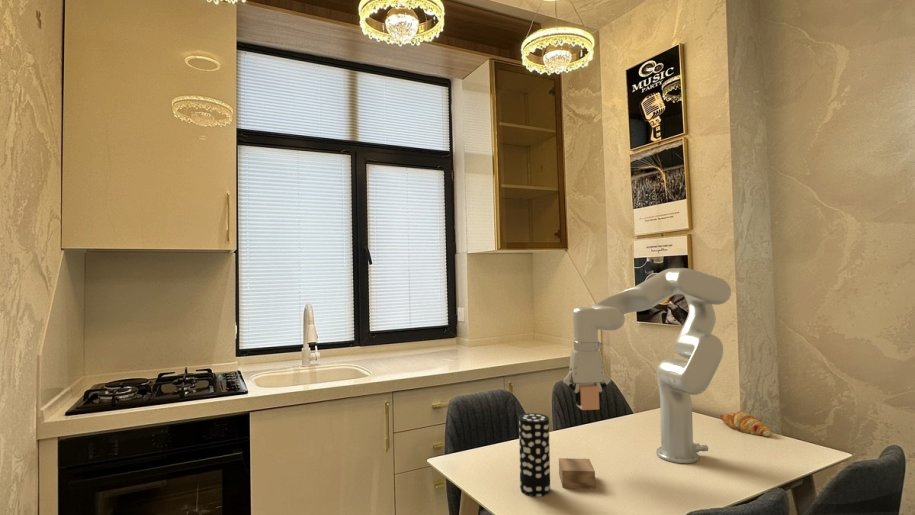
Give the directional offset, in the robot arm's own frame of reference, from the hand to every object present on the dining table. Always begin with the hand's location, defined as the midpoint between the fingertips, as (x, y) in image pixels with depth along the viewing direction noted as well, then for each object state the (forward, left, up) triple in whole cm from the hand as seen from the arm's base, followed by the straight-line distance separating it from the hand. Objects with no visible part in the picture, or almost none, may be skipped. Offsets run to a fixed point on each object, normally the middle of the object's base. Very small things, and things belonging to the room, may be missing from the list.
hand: (587, 403), depth 152 cm
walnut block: (+7, +11, -19) cm, 23 cm away
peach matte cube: (0, 0, -1) cm, 1 cm away
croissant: (-69, -29, -20) cm, 77 cm away
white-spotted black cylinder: (+20, +16, -19) cm, 32 cm away
